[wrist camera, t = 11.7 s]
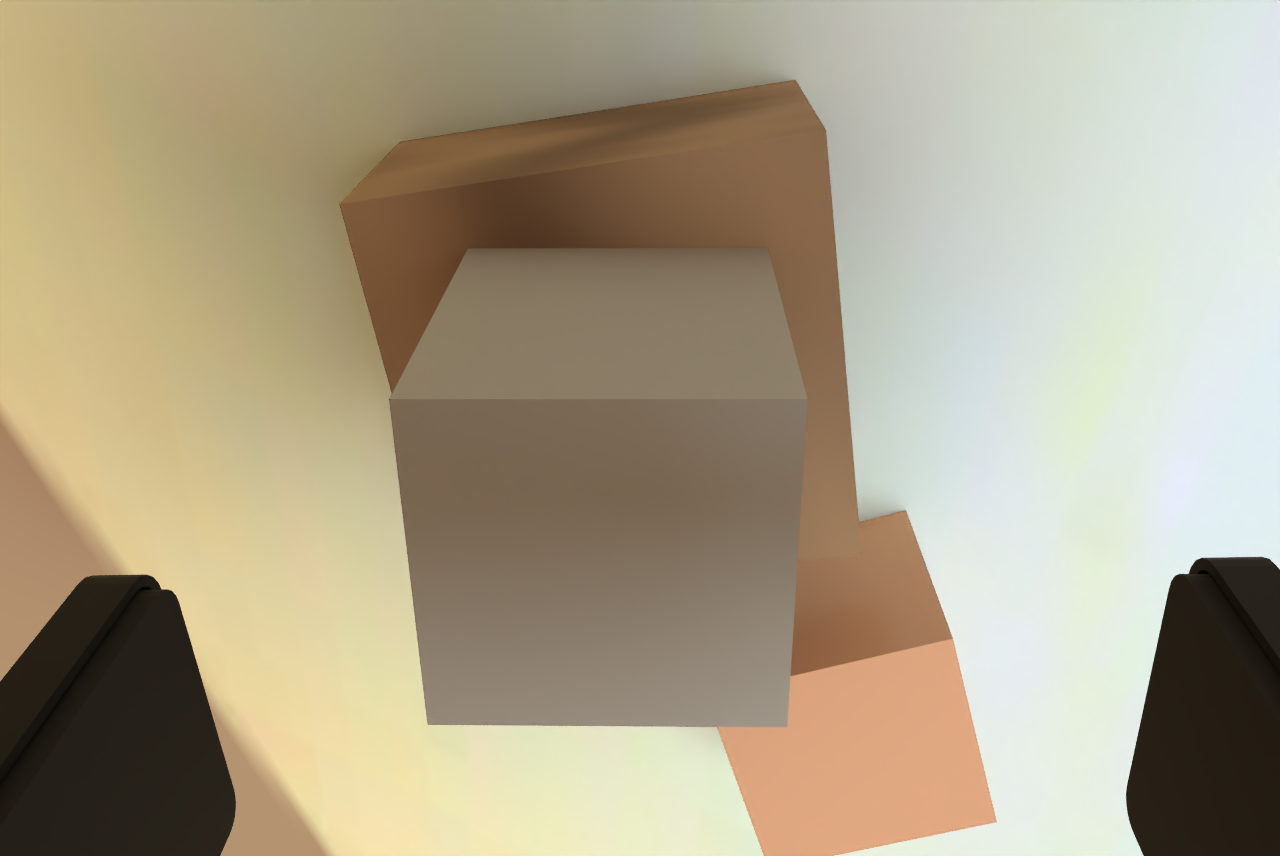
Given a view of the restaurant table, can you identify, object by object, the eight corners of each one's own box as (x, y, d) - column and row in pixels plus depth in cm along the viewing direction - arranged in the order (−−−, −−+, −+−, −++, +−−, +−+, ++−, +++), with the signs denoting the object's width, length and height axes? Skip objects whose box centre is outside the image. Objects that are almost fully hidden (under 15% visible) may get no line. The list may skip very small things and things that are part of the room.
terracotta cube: (905, 508, 27) (952, 638, 22) (945, 673, 29) (996, 821, 24) (700, 560, 27) (706, 695, 23) (753, 716, 29) (768, 869, 25)
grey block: (767, 247, 19) (807, 398, 13) (756, 508, 21) (787, 727, 16) (467, 248, 19) (389, 398, 14) (488, 507, 21) (427, 724, 16)
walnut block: (793, 78, 22) (825, 129, 18) (827, 435, 26) (860, 553, 21) (403, 139, 23) (339, 204, 19) (486, 479, 27) (449, 602, 22)
